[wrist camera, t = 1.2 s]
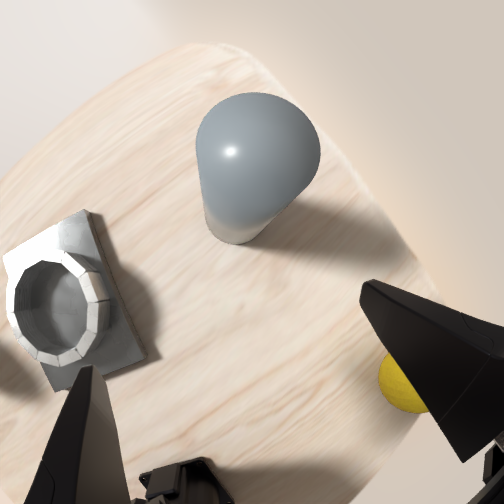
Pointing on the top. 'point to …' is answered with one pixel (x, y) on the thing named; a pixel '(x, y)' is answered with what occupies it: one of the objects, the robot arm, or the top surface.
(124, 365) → the duct plate
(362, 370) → the top surface
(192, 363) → the top surface
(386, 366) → the lemon
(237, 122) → the grey rounded cylinder
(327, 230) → the top surface
